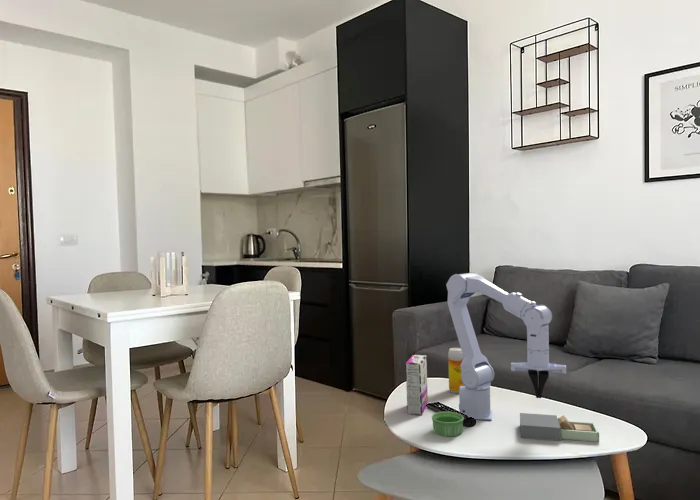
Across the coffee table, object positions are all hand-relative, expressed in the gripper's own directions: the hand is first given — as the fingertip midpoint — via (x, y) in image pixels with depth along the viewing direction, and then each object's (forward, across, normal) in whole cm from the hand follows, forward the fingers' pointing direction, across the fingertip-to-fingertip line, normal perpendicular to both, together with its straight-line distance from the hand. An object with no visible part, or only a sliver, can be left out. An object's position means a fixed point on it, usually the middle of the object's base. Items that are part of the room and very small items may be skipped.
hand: (538, 397), depth 148 cm
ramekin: (+10, -25, -5) cm, 27 cm away
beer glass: (+10, -25, +34) cm, 43 cm away
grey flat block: (+10, 0, -1) cm, 10 cm away
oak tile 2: (+8, +11, 0) cm, 14 cm away
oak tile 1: (+8, +6, -1) cm, 10 cm away
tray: (+10, +10, 0) cm, 14 cm away
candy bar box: (+10, -36, +12) cm, 39 cm away
